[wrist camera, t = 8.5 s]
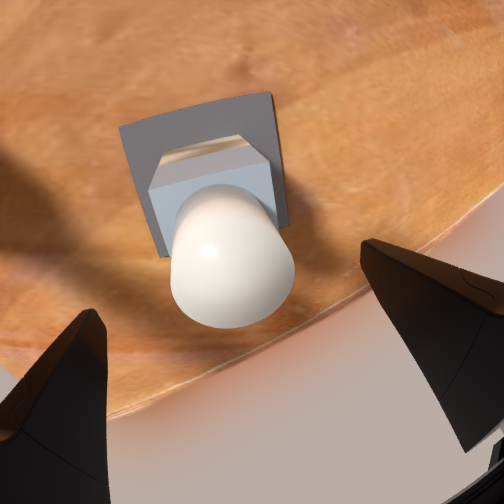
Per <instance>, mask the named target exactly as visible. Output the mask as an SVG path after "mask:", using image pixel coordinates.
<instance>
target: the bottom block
mask: <svg viewBox="0 0 504 504" xmlns="http://www.w3.org/2000/svg"><path fill="white" fill-rule="evenodd" d="M247 145H250V144H249V143H248V142H247V141H246V140H245V139H244V138H242V137H241V136H240V135H234V136H229V137H224V138H220V139H215V140H211V141H206V142H202V143H198V144H194V145H190V146H186V147H182V148H178V149H174V150H171V151H167V152H164V153H163V155H162V158H161V160H160V163H159V165H158V167H159V166H163V165H166V164H170V163H174V162H178V161H181V160H185V159H189V158H193V157H197V156H201V155H206V154H210V153H214V152H219V151H223V150H228V149H232V148H237V147H242V146H247Z"/></svg>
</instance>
